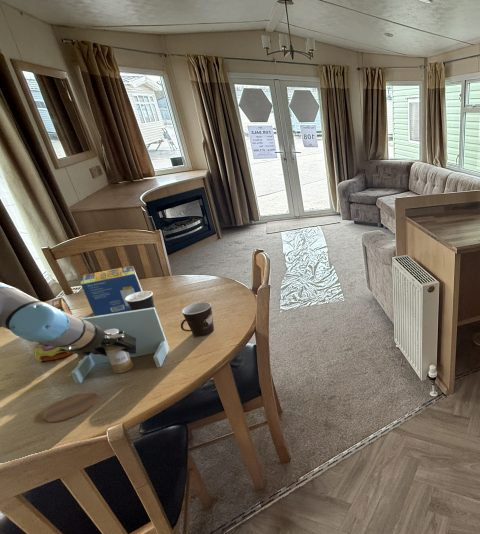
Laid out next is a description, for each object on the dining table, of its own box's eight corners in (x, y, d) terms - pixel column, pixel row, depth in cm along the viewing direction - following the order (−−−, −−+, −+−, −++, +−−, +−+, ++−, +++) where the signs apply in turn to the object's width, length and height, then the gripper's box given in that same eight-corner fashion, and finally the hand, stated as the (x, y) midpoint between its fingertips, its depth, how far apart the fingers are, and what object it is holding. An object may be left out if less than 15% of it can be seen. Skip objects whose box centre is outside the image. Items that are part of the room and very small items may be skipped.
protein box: (96, 310, 134) (80, 275, 128) (145, 298, 144) (133, 265, 138) (95, 321, 127) (79, 284, 121) (147, 308, 137) (135, 273, 131)
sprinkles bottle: (134, 362, 107) (120, 326, 101) (132, 370, 103) (116, 333, 98) (115, 367, 104) (99, 330, 99) (112, 376, 101) (95, 338, 95)
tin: (74, 327, 123) (64, 307, 120) (61, 331, 121) (51, 310, 118) (72, 312, 133) (63, 293, 129) (60, 315, 130) (51, 296, 127)
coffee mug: (209, 322, 128) (202, 299, 124) (222, 329, 124) (216, 306, 120) (175, 338, 119) (166, 313, 115) (188, 345, 115) (180, 320, 111)
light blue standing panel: (76, 384, 97) (52, 338, 91) (92, 363, 106) (71, 319, 99) (161, 366, 105) (144, 323, 99) (169, 348, 113) (154, 307, 107)
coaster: (37, 413, 88) (36, 412, 87) (87, 388, 96) (86, 387, 96) (54, 428, 84) (53, 427, 83) (105, 401, 92) (104, 400, 92)
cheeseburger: (28, 358, 107) (25, 328, 105) (74, 347, 117) (72, 319, 115) (42, 367, 103) (39, 336, 101) (89, 355, 113) (87, 326, 111)
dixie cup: (149, 314, 132) (140, 289, 128) (166, 317, 131) (158, 292, 127) (129, 325, 125) (118, 299, 121) (146, 328, 124) (136, 302, 119)
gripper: (28, 358, 80) (87, 370, 101) (120, 342, 87) (158, 356, 107) (31, 328, 83) (88, 345, 103) (121, 314, 89) (158, 333, 110)
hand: (124, 351), depth 105 cm, fingers closed on sprinkles bottle, 4 cm apart
